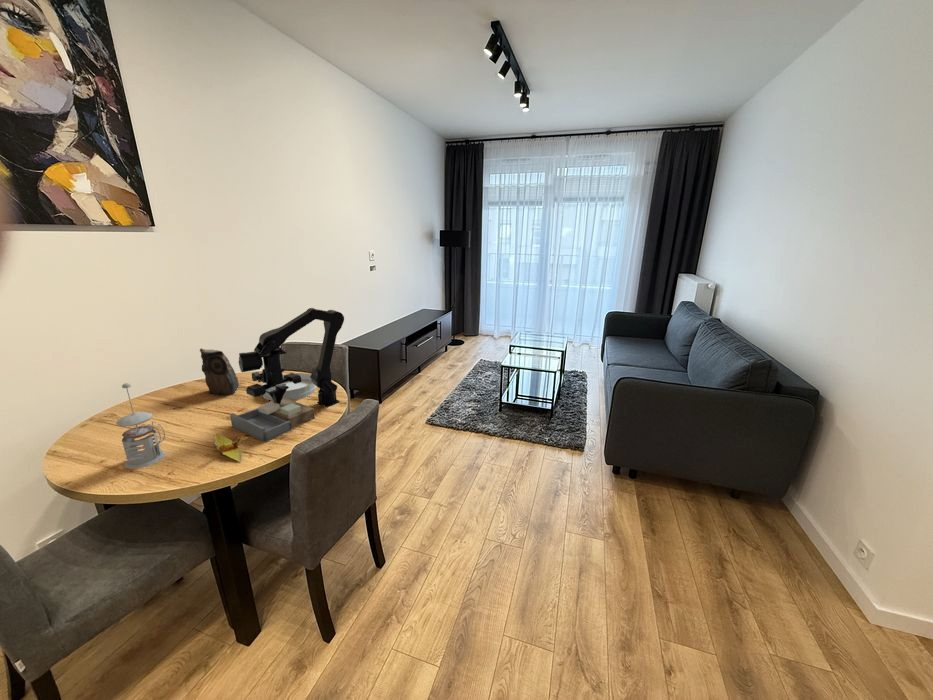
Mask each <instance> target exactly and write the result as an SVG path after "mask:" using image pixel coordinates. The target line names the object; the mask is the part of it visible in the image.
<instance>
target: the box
mask: <svg viewBox="0 0 933 700" xmlns="http://www.w3.org/2000/svg"><path fill="white" fill-rule="evenodd" d="M229 416H230V423H231V427H232V428H234V429H236V430H238V431H240V432H242V433H244V434H246V435H247V436H248V435H249V436H250V437H253V438H254V439H257V440H259V441H261V442H263V443H267V442H268V441H271V440H273V439H274V438H275V439H276V438H277V437H279V436H281V435H284V434H286V433H288V432H291V431H292V429H293V428H292V429H291V421H286V420H283V419H281V418H279V417H276V416H274V415H271V414H268V415H267V414H264V413H261V412H259V408H258V407H256V408H254V409H251V410H248V411H246V412H243V413H240V414H238V415H237V414H235V413H230V414H229Z"/></svg>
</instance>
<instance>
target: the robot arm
mask: <svg viewBox="0 0 933 700" xmlns="http://www.w3.org/2000/svg"><path fill="white" fill-rule="evenodd" d="M315 320H318V321H323V327H324V335H323V340H322V345H321V349H320V354H319V359H318V364H317V366H316V367H315V368H313V367H312V368H311V374H310V375H311V376H310V378H311V381H312V383H313V384H314V385H316V386H317V389H319V390H318V391H317V392H318V394H317V398H318V399H317V400H318V401H317V402H316V403H317V404H318V405H320V406H323V407H325V408H326V407H327V408H328V407H329V406H333V405H335V404H337V403H340V400H339V399H337V391H338V385H337V384H336V383H334V382H333V381H332V371H331V364H332V360H333V354H334V350H335V346H336V339H337V335H338V333H339V332H340V330H342V327H343V325H344V322H345V316H344V315H343V313H342V312H340V311H337V310H334V309H329V310H322V309H317V308H313V307H309V308H307V309H306V310H305V311H304V312H303V313H301V314H299V315H297V316H296V317H294V318H292V319H291V320H290V321H288V322H286V323H285V324H283V325H282V326H280V327H276V328H273V329H270V330H268V331H266V332H264V333H262V334H260V335H259V338H258V343H257V344H256V346H255V348H254V349H253V351H247V352H239V353H238V367H239V369H240V372H241V373H247V372H252V371H253V372H252V373H251V379H252V381H253V382H258V383H255V384H252V385H249V386H247V387H246V390H245V391H246V394H247V395H248V396H252V397H254V398H258V397H261V396H263V395H264V394H265V393H266V392H267V393H269V395H270V396H271V397H272V399H273V401H272V402H275V403H277V404H279V405H280V403H281V400H282V398H283V396H284V394H285V392H286V390H287V389H288V388H289V387H288V386H286V383H288V382H291V381H293V383H294V384H297V383H300V382H302V379H301V376H300V375H297V373H294V372H291V373H286V374H287V375H286V374H283V372H285V369H284V368H283V366H282V358H281V355H285V354H287V352H286V351H285V350H284V349H283V348H282V347H281V346H282V345H283V344H285V343H286V341H287V339H288V338H289V337H291V336H292V335H294V334H295V333H297V332H298V331H299V330H301V329H303V328H304V327H306V326H308V325H309V324H311V323H312V322H314V321H315ZM263 367H264V368H263ZM261 368H262V370H261V373H259V371H257V370H260V369H261ZM254 371H256V372H254ZM283 375H284V379H283ZM261 382H262V384H263V383H266V384H265V385H262V384H260V383H261Z"/></svg>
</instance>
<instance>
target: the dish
mask: <svg viewBox="0 0 933 700" xmlns="http://www.w3.org/2000/svg"><path fill="white" fill-rule="evenodd" d="M287 374H288V373H286V374H283V379H284V375H287ZM296 374H297V375H300V376H301V379H302V382H300V383H297V384H294V383H293V381H291V382H288V383H286V386H288V387H289V388H288V389H287V390H286V392H285V394H284V396H283V398H286V399H289V400H293V401H297V400H301V399H303V397H304V398H307V397H308V395H309V396H311V395H312V393H313V392H314V391H315V390H316V388H317V389H318V387H317V386H316V385H314V384H313V383H312V381H311V378H310V376H311V374H308V373H296ZM265 384H266V383H263V382H262V384H261V385H265ZM316 391H317V390H316ZM316 391H315V392H316ZM315 392H314V393H315ZM314 393H313V394H314ZM310 394H311V395H310ZM306 396H307V397H306ZM262 397H263V398H264V399H265V400H266V401H269V400H270V401H271V402H274V401H273V399H272V397H271V396H270V395H269V393H267V392H266V393H265V394H264V395H262ZM283 398H282V399H283ZM300 398H301V399H300ZM270 401H269V402H270Z"/></svg>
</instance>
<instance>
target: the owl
mask: <svg viewBox="0 0 933 700" xmlns="http://www.w3.org/2000/svg"><path fill="white" fill-rule="evenodd" d="M199 352H200V357H201V361H202V362H201V363H202V364H201V371H202V373H203V374H204V376H205V377H204V378H205V379H204V380H205V384H206V386H207V388H208V394H209V395H214V396H218V397H220V396H221V397H223V396H233V395H235V394H236V392H237V391H238V389H239V388H238V386H239V387H240V385H239V380H238V379H239V378H238V376H237V374H236V372H235V369H234V368H233V366H232V365H231V363H230V360H229V358H228V357H227V355H225V353H224V352H223V351H222V350H218V349H204V348H200V349H199ZM237 388H238V389H237ZM235 391H236V392H235ZM234 393H235V394H234Z"/></svg>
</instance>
